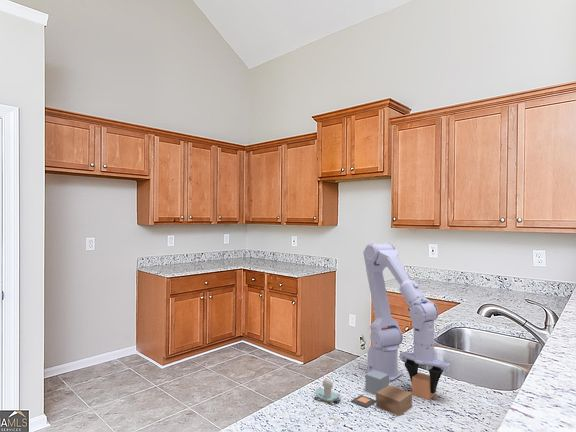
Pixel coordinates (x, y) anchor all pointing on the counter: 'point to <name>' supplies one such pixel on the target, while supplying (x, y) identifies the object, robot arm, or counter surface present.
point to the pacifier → (327, 392)
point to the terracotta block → (422, 386)
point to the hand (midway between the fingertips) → (423, 389)
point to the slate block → (376, 381)
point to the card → (363, 401)
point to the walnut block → (394, 400)
